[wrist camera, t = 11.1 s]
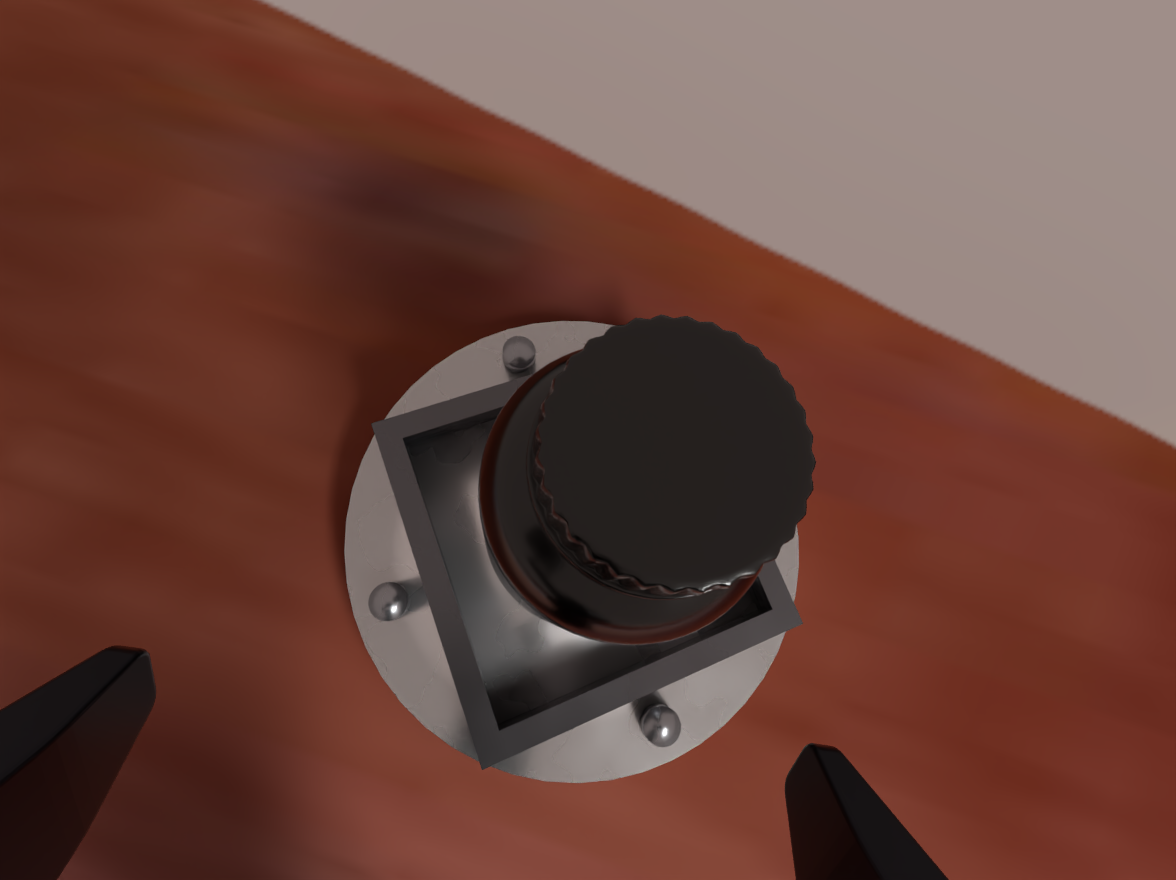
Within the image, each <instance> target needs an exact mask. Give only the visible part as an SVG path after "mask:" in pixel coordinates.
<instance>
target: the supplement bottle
mask: <svg viewBox="0 0 1176 880" xmlns="http://www.w3.org/2000/svg"><path fill="white" fill-rule="evenodd" d="M812 443H813V435H812V433H811V431H810V429H809V428H808V426H807V424H806V413H805V410H804V408H803V407H802V406H801V404H800V403H799V402H798V401H797V400H796V396H795V391H794V388H793V386H792V385H791V384H790V383H788V382H787V381H786V380H785V379H784V378H783V377H782V375H781V373H780V370H779V368H778V366H777V365H776V364H774V363H773V362H771V361H769V360H767V359H766V358H765V357H764V356H763V354H762V352H761V351H760V349H759V348H758V347H756V346H754V345H752V344H749V343H746V342H745V341H744V340H743V339H742V338H741V337H740V336H739V335H738V334H737V333H736V332H731V331H725V330H722V329H721V328H720V327H719V326H717V325H716V324H714V323H713V322H698V321H696V320H694V319H693V318H690V317H688V316H684V317H679V318H671V317H668V316H665V315H659V316H656V317H654V318H652V319H643V318H635V319H633V320H632V321H630V322H629V323H628V324H626V325H617V326H611V327H610V328H609V329H608V330H607V331H606V332H605V334H604V335H603V336H600V337H595V338H591V339H589V340H588V341H587V343H586V344H585V346H584V347H583V349H580V350H577V351H574V352H571V353H569V354H566V355H564V356H562V357H560V358H558V359H556V360H554V361H552V362H550V363H549V364H547V365H546V366H544V367H543V368H541V369H540V370H538V371H537V372H536V373H534V374H533V375H532V376H531V377H529V378H528V379H527V380H526V381H525V382H524V383H523V384H522V385H521V386H520V387H519V388H518V389H517V390H516V391H515V392H514V393H513V395H512V396H511V397H510V398H509V399H508V401H507V402H506V404H505V405H504V407H503V408H502V410H501V411H500V413H499V414H498V416H497V418H496V420H495V422H494V424H493V426H492V428H491V431H490V433H489V436H488V438H487V441H486V444H485V448H484V451H483V455H482V460H481V466H480V471H479V483H478V502H479V511H480V519H481V524H482V529H483V534H484V539H485V544H486V549H487V553H488V556H489V559H490V562H491V564H492V567H493V569H494V571H495V573H496V575H497V577H498V578H499V580H500V582H501V583H502V585H503V586H504V588H505V589H506V590H507V592H508V593H509V594H510V595H511V596H512V597H513V598H514V599H515V600H516V601H517V602H518V603H519V604H520V605H521V606H522V607H524V608H525V609H526V610H528V611H529V612H530V613H532V614H534V615H535V616H537V617H538V618H540V619H542V620H545V621H547V622H549V623H551V624H553V625H555V626H557V627H560V628H562V629H564V630H566V631H568V632H570V633H573V634H576V635H578V636H581V637H584V638H587V639H591V640H595V641H599V642H603V643H610V644H618V645H648V644H656V643H662V642H667V641H671V640H675V639H678V638H681V637H684V636H687V635H689V634H691V633H694V632H696V631H698V630H700V629H702V628H704V627H706V626H707V625H709V624H711V623H712V622H714V621H715V620H717V619H718V618H719V617H721V616H722V615H724V614H725V613H726V612H727V611H728V610H729V609H730V608H732V607H733V606H734V605H735V604H736V603H737V602H738V601H739V600H740V599H741V598H742V597H743V595H744V594H745V593H746V592H747V590H748V589H749V588H750V587H751V585H752V584H753V583H754V581H755V579H756V578H757V576H758V574H759V573H760V571H761V569H762V567H763V565H764V563H768V562H771V561H773V560H775V559H776V558H777V556H778V554H779V552H780V549H781V547H782V545H783V544H785V543H787V542H789V541H790V540H792V539H793V538H794V535H795V531H796V525H797V523H798V522H799V521H800V520H801V519H802V518H803V517H804V516H805V515H806V508H807V504H806V500H807V499H808V497H809V496H810V494H811V492H812V491H813V481H812V476H811V475H812V472H813V470H814V467H815V464H816V461H815V457H814V455H813V453H812V449H811V448H812Z"/></svg>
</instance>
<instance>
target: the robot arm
mask: <svg viewBox="0 0 1176 880" xmlns="http://www.w3.org/2000/svg"><path fill="white" fill-rule="evenodd" d="M155 698H156V686H155V680H154V675H153V670H152V664H151V659H150V655H149V653H148V652H147V651H146V650H144V649H140V648H133V647H126V646H111V647H108V648H105V649H104V650H102V651H100V652H98V653H96V654H95V655H93V656H91V657H90V658H88V659H86V660H85V661H83V662H81V663H79V664H78V665H76V666H74V667H73V668H71V669H69V670H68V671H66V672H64V673H62V674H61V675H59V676H57V677H56V678H54V679H52V680H51V681H49V682H47V683H45V684H44V685H42V686H40V687H39V688H37V689H35V690H34V691H32V692H30V693H28V694H27V695H25V696H23V697H22V698H20V699H18V700H17V701H15V702H13V703H11V704H10V705H8V706H6V707H5V708H3V709H1V710H0V880H57V879H58V877H59V876H60V874H61V872H62V871H63V869H64V868H65V866H66V865H67V863H68V862H69V860H70V859H71V857H72V855H73V854H74V852H75V851H76V849H77V847H78V846H79V844H80V843H81V841H82V839H83V838H84V836H85V834H86V833H87V831H88V829H89V827H90V826H91V824H92V822H93V820H94V818H95V817H96V815H97V813H98V811H99V809H100V807H101V805H102V803H103V802H104V800H105V798H106V796H107V794H108V792H109V790H110V788H111V786H112V784H113V782H114V781H115V779H116V777H117V775H118V773H119V771H120V769H121V767H122V765H123V763H124V761H125V760H126V758H127V756H128V754H129V752H130V750H131V748H132V746H133V744H134V742H135V740H136V739H137V737H138V735H139V733H140V731H141V729H142V727H143V725H144V723H145V721H146V719H147V718H148V716H149V714H150V712H151V710H152V707H153V705H154V702H155ZM785 798H786V806H787V813H788V821H789V829H790V837H791V845H792V853H793V861H794V868H795V876H796V880H948V878H947V877H946V876H945V875H944V874H943V872H942V871H941V870H940V869H939V868H938V866H937V865H936V864H935V863H934V862H933V861H932V859H931V858H930V857H929V856H928V855H927V853H926V852H925V851H924V850H923V849H922V847H921V846H920V845H919V844H918V843H917V841H916V840H915V839H914V838H913V837H912V836H911V834H910V833H909V832H908V831H907V830H906V828H905V827H904V826H903V825H902V824H901V822H900V821H899V820H898V819H897V818H896V816H895V815H894V814H893V813H892V812H891V810H890V809H889V808H888V807H887V806H886V805H885V803H884V802H883V801H882V800H881V799H880V797H879V796H878V795H877V794H876V793H875V791H874V790H873V789H872V788H871V787H870V785H869V784H868V783H867V782H866V781H865V780H864V778H863V777H862V776H861V775H860V774H859V772H858V771H857V770H856V769H855V768H854V766H853V765H852V764H851V763H850V762H849V760H848V759H847V758H846V757H845V756H844V755H843V753H842V752H841V751H839V750H838V749H837V748H835V747H833V746H828V745H821V744H814V743H810V744H808V745H806V746H805V747H804V748H803V750H802V752H801V753H800V755H799V757H798V758H797V760H796V761H795V763H794V765H793V766H792V768H791V770H790V771H789V773H788V775H787V778H786V782H785Z"/></svg>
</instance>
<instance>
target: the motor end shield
mask: <svg viewBox="0 0 1176 880" xmlns="http://www.w3.org/2000/svg"><path fill="white" fill-rule="evenodd" d="M611 326H615V325H608V324H601V323H594V322H584V321H555V322H544V323H534V324H530V325H525V326H521V327H516V328H512V329H507V330H504V331H502V332H499V333H496V334H493V335H490V336H488V337H485V338H482V339H480V340H478V341H476V342H474V343H472V344H470V345H468V346H466V347H464V348H462V349H460V350H458V351H456V352H455V353H453V354H452V355H450V356H449V357H447V358H446V359H444V360H443V361H441V362H440V363H438V364H437V365H435V366H434V367H433V368H431V369H430V370H429V371H428V372H427V373H426V374H425V375H423V376H422V377H421V378H420V379H419V380H418V381H417V382H415V383H414V384H413V385H412V386H411V387H410V388H409V389H408V390H407V392H406V393H405V394H404V395H403V396H402V397H401V398H400V400H399V401H398V402H397V403H396V404H395V405H394V406H393V408H392V409H391V410H390V412H389V413H388V415H387V416H386V418H385V419H384V420H381V421H378V422H374V423H371V425H372V428H373V431H374V434H375V435H374V437H373V439H372V441H371V443H370V445H369V447H368V449H367V451H366V453H365V455H364V457H363V459H362V462H361V464H360V467H359V470H358V473H357V476H356V479H355V482H354V485H353V488H352V492H351V497H350V503H349V508H348V513H347V518H346V531H345V548H344V554H345V567H346V580H347V587H348V591H349V596H350V600H351V605H352V609H353V614H354V617H355V620H356V623H357V625H358V628H359V631H360V634H361V636H362V639H363V642H364V644H365V647H366V649H367V651H368V652H369V654H370V656H371V658H372V660H373V662H374V664H375V665H376V667H377V669H378V671H379V673H380V675H381V676H382V678H383V679H384V680H385V682H386V683H387V684H388V686H389V687H390V688H391V690H392V691H393V692H394V694H395V695H396V696H397V698H398V699H399V701H400V702H401V703H402V704H403V705H404V706H405V707H406V708H407V709H408V710H409V711H410V712H411V713H412V714H413V715H414V716H415V717H416V718H417V719H418V720H419V721H420V722H421V723H422V724H423V725H424V726H425V727H426V728H427V729H429V730H430V731H431V732H433V733H434V734H435V735H437V736H438V737H439V738H441V739H442V740H443V741H445V742H446V743H447V744H449V745H450V746H451V747H453V748H455V749H457V750H458V751H460V752H462V753H464V754H466V755H468V756H469V757H471V758H473V759H475V760H477V761H479V762H480V765H481V768H482V770H483V769H485V768H488V767H490V766H491V767H494V768H497V769H499V770H502V771H505V772H507V773H510V774H513V775H518V776H523V777H528V778H532V779H537V780H542V781H551V782H569V783H584V782H595V781H606V780H613V779H617V778H621V777H625V776H630V775H634V774H638V773H642V772H645V771H647V770H650V769H652V768H655V767H657V766H660V765H662V764H665V763H667V762H669V761H672V760H674V759H675V758H677V757H679V756H681V755H682V754H684V753H686V752H688V751H689V750H691V749H693V748H694V747H696V746H698V745H700V744H701V743H702V742H703V741H705V740H706V739H707V738H708V737H710V736H711V735H712V734H714V733H715V732H716V731H717V730H719V729H720V728H721V727H722V726H724V725H725V724H726V723H727V722H728V721H729V720H730V719H731V718H732V716H733V715H734V714H735V713H736V712H737V711H738V710H739V709H740V708H741V707H742V706H743V705H744V704H745V703H746V702H747V700H748V699H749V697H750V696H751V695H752V693H753V692H754V691H755V689H756V688H757V686H758V685H759V684H760V682H761V681H762V680H763V678H764V676H765V675H766V673H767V671H768V669H769V667H770V665H771V663H772V662H773V660H774V658H775V656H776V654H777V652H778V650H779V647H780V645H781V642H782V640H783V637H784V634H785V632H786V631H788V630H790V629H792V628H794V627H796V626H799V625H801V624H803V622H802V620H801V618H800V616H799V613H798V611H797V609H796V607H795V604H794V599H795V595H796V586H797V577H798V568H799V546H798V531H797V525H796V531H795V535H794V538H793V539H792V540H790V541H789V542H787V543H785V544H783V545H782V547H781V549H780V552H779V554H778V556H777V558H776V559H775V560H773V561H771V562H768V563H764V565H763V567H762V569H761V571H760V573H759V574H758V576H757V578H756V579H755V581H754V583H753V584H752V585H751V587H750V588H749V589H748V590H747V592H746V593H745V594H744V595H743V597H742V598H741V599H740V600H739V601H738V602H737V603H736V604H735V605H734V606H733V607H732V608H730V609H729V610H728V611H727V612H726V613H725V614H724V615H722V616H721V617H719V618H718V619H717V620H715V621H714V622H712V623H711V624H709V625H707V626H706V627H704V628H702V629H700V630H698V631H696V632H694V633H691V634H689V635H687V636H684V637H681V638H678V639H675V640H671V641H667V642H662V643H656V644H648V645H618V644H610V643H603V642H599V641H595V640H591V639H587V638H584V637H581V636H578V635H576V634H573V633H570V632H568V631H566V630H564V629H562V628H560V627H557V626H555V625H553V624H551V623H549V622H547V621H545V620H542V619H540V618H538V617H537V616H535V615H534V614H532V613H530V612H529V611H528V610H526V609H525V608H524V607H522V606H521V605H520V604H519V603H518V602H517V601H516V600H515V599H514V598H513V597H512V596H511V595H510V594H509V593H508V592H507V590H506V589H505V588H504V586H503V585H502V583H501V582H500V580H499V578H498V577H497V575H496V573H495V571H494V569H493V567H492V564H491V562H490V559H489V556H488V553H487V549H486V544H485V539H484V534H483V529H482V524H481V519H480V511H479V502H478V483H479V471H480V466H481V460H482V455H483V451H484V448H485V444H486V441H487V438H488V436H489V433H490V431H491V428H492V426H493V424H494V422H495V420H496V418H497V416H498V414H499V413H500V411H501V410H502V408H503V407H504V405H505V404H506V402H507V401H508V399H509V398H510V397H511V396H512V395H513V393H514V392H515V391H516V390H517V389H518V388H519V387H520V386H521V385H522V384H523V383H524V382H525V381H526V380H527V379H528V378H529V377H531V376H532V375H533V374H534V373H536V372H537V371H538V370H540V369H541V368H543V367H544V366H546V365H547V364H549V363H550V362H552V361H554V360H556V359H558V358H560V357H562V356H564V355H566V354H569V353H571V352H574V351H577V350H580V349H583V347H584V346H585V344H586V343H587V341H588V340H589V339H591V338H595V337H600V336H603V335H604V334H605V332H606V331H607V330H608V329H609V328H610V327H611Z"/></svg>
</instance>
